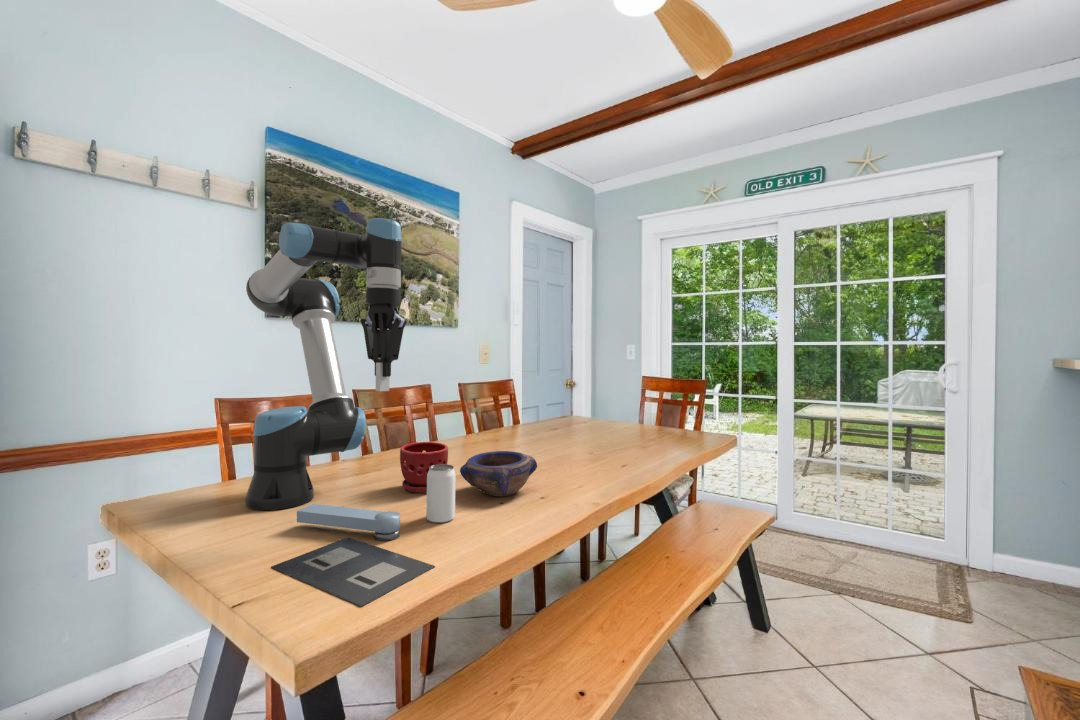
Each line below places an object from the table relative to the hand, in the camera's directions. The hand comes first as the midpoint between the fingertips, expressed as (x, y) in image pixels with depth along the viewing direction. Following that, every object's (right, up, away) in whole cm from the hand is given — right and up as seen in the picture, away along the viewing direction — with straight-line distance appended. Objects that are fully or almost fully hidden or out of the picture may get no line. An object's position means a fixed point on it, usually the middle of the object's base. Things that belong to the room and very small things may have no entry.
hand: (382, 390), depth 111 cm
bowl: (+25, -30, +22) cm, 44 cm away
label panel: (+3, -30, -25) cm, 39 cm away
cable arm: (-4, -28, -8) cm, 29 cm away
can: (+13, -30, +1) cm, 33 cm away
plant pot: (+4, -29, +24) cm, 38 cm away
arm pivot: (+4, -30, -10) cm, 32 cm away
